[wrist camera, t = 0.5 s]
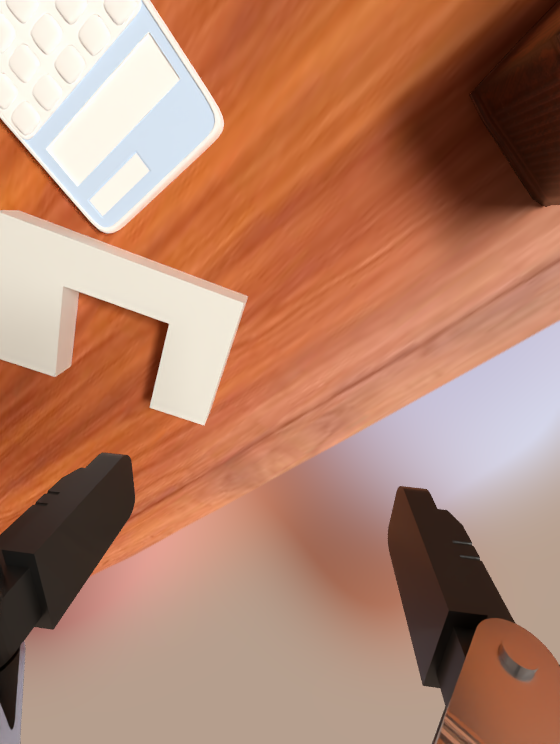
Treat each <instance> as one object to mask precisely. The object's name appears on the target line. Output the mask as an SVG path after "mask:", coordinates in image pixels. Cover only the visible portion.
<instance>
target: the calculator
mask: <svg viewBox="0 0 560 744" xmlns="http://www.w3.org/2000/svg"><path fill="white" fill-rule="evenodd" d="M61 15H62V16H61ZM64 19H65V20H66V21H65V20H64ZM18 20H19V21H20V22H19V21H18ZM42 51H43V52H44V53H43V52H42ZM3 73H4V74H3ZM48 74H49V75H48ZM26 101H27V102H26ZM0 118H1V119H2V121H3V122H4V123H5V124H6V125H7V126H8V127H9V129H10V130H11V131H12V132H13V133H14V134H15V136H16V137H17V138H18V139H19V140H20V141H21V142H22V144H23V145H24V146H25V147H26V148H27V149H28V151H29V152H30V153H31V154H32V155H33V156H34V158H35V159H36V160H37V161H38V162H39V163H40V164H41V166H42V167H43V168H44V169H45V170H46V171H47V173H48V174H49V175H50V176H51V177H52V178H53V179H54V181H55V182H56V183H57V184H58V185H59V186H60V188H61V189H62V190H63V191H64V192H65V193H66V195H67V196H68V197H69V198H70V199H71V200H72V201H73V203H74V204H75V205H76V206H77V207H78V208H79V210H80V211H81V212H82V213H83V214H84V215H85V216H86V217H87V219H88V220H89V221H90V222H91V223H92V224H93V225H94V226H95V227H96V228H98V229H99V230H100V231H102V232H104V233H114V232H116V231H118V230H120V229H121V228H123V227H124V226H125V225H126V224H127V223H128V222H130V221H131V220H132V219H133V218H134V217H135V216H136V215H137V214H138V213H139V212H140V211H141V210H142V209H143V208H145V207H146V206H147V205H148V204H149V203H150V202H151V201H152V200H153V199H154V198H155V197H156V196H157V195H158V194H160V193H161V192H162V191H163V190H164V189H165V188H166V187H167V186H168V185H169V184H170V183H171V182H172V181H173V180H174V179H176V178H177V177H178V176H179V175H180V174H181V173H182V172H183V171H184V170H185V169H186V168H187V167H188V166H189V165H191V164H192V163H193V162H194V161H195V160H196V159H197V158H198V157H199V156H200V155H201V154H202V153H203V152H204V151H205V150H207V149H208V148H209V147H210V146H211V145H212V144H213V143H214V142H215V141H216V139H217V138H218V137H219V136H220V134H221V133H222V131H223V127H224V121H223V116H222V114H221V112H220V109H219V107H218V106H217V104H216V102H215V101H214V99H213V97H212V96H211V94H210V92H209V91H208V89H207V88H206V86H205V85H204V83H203V82H202V80H201V78H200V77H199V75H198V74H197V72H196V71H195V69H194V68H193V66H192V65H191V63H190V61H189V60H188V58H187V57H186V55H185V54H184V52H183V51H182V49H181V48H180V46H179V44H178V43H177V41H176V40H175V38H174V37H173V35H172V34H171V32H170V31H169V29H168V27H167V26H166V24H165V23H164V21H163V20H162V18H161V17H160V15H159V13H158V12H157V10H156V9H155V7H154V6H153V4H152V3H151V1H150V0H0Z"/></svg>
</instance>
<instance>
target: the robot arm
mask: <svg viewBox="0 0 560 744" xmlns="http://www.w3.org/2000/svg"><path fill="white" fill-rule="evenodd" d="M134 503H135V491H134V482H133V472H132V463H131V458H130V457H129V456H128V455H121V454H112V453H101V454H99V455H98V456H97V457H96V458H95V459H94V460H93V461H92V462H91V463H90V464H89V465H88V466H87V467H86V468H79V469H77V470H76V471H74V472H72V473H70V474H68V475H67V476H65V477H63V478H61V479H60V480H59V481H58V482H57V483H56V484H55V485H54V486H53V487H52V488H51V489H50V490H48V493H47V494H44V495H43V496H42V497H41V498H40V499H39V500H38V501H37V502H36V504H35V505H32V506H31V507H30V508H29V509H28V510H27V511H26V512H25V513H23V514H22V515H21V516H20V517H19V518H18V519H17V520H16V521H15V522H14V523H13V524H12V525H10V526H9V527H8V528H7V529H6V530H5V531H4V532H3V533H2V534H1V535H0V744H21V742H20V735H21V716H22V698H23V682H24V664H25V643H24V640H25V639H26V637H27V636H28V634H29V633H30V632H31V630H32V629H33V628H34V627H39V628H46V629H54V628H55V626H56V625H57V624H58V622H59V621H60V619H61V618H62V616H63V614H64V613H65V612H66V610H67V609H68V607H69V606H70V604H71V603H72V601H73V600H74V598H75V597H76V595H77V594H78V593H79V591H80V589H81V588H82V586H83V585H84V584H85V582H86V581H87V579H88V578H89V576H90V575H91V573H92V572H93V570H94V569H95V568H96V566H97V565H98V563H99V562H100V560H101V559H102V557H103V556H104V554H105V553H106V551H107V550H108V548H109V547H110V545H111V544H112V542H113V541H114V540H115V538H116V537H117V535H118V534H119V532H120V531H121V529H122V528H123V526H124V525H125V523H126V522H127V520H128V519H129V517H130V515H131V513H132V510H133V507H134ZM388 546H389V552H390V556H391V560H392V564H393V568H394V572H395V576H396V580H397V584H398V588H399V592H400V596H401V600H402V604H403V608H404V612H405V616H406V620H407V624H408V627H409V632H410V636H411V640H412V644H413V648H414V652H415V656H416V660H417V664H418V668H419V672H420V676H421V680H422V684H423V686H429V687H436V688H441V692H442V695H443V698H444V702H445V705H446V706H445V709H444V711H443V714H442V717H441V720H440V722H439V725H438V728H437V731H436V733H435V736H434V739H433V741H432V744H560V665H559V664H558V662H557V661H556V659H555V658H554V657H553V655H552V653H551V652H550V651H549V650H548V649H547V648H546V646H545V645H544V644H543V643H542V642H541V641H540V640H539V639H537V638H536V637H535V636H534V635H533V634H531V633H530V632H529V631H527V630H526V629H524V628H522V627H521V626H519V625H517V624H516V623H515V622H514V620H513V618H512V617H511V615H510V613H509V611H508V609H507V607H506V605H505V603H504V602H503V600H502V598H501V596H500V594H499V592H498V590H497V589H496V587H495V585H494V583H493V581H492V579H491V577H490V575H489V574H488V572H487V570H486V568H485V566H484V564H483V562H482V561H480V557H479V555H478V553H477V552H476V550H475V548H474V546H472V542H471V540H470V538H469V536H468V535H467V533H466V531H465V529H464V527H463V525H462V524H461V523H459V521H458V520H456V518H455V517H453V515H451V514H450V513H449V512H448V511H447V510H440V509H437V507H436V505H435V503H434V501H433V498H432V496H431V494H430V493H429V491H428V490H427V489H421V488H412V487H403V486H400V487H399V488H398V490H397V492H396V497H395V501H394V506H393V510H392V514H391V519H390V523H389V529H388Z"/></svg>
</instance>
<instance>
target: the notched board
mask: <svg viewBox="0 0 560 744" xmlns="http://www.w3.org/2000/svg"><path fill="white" fill-rule="evenodd" d="M79 292H81V293H84V294H87V295H90V296H92V297H95V298H98V299H101V300H104V301H106V302H109V303H112V304H115V305H118V306H120V307H123V308H126V309H129V310H132V311H135V312H137V313H140V314H143V315H146V316H149V317H151V318H154V319H157V320H160V321H163V322H165V323H168V324H169V326H168V331H167V335H166V339H165V344H164V348H163V352H162V356H161V361H160V365H159V369H158V373H157V378H156V382H155V386H154V391H153V395H152V399H151V403H150V408H152V409H155V410H158V411H161V412H164V413H168V414H171V415H174V416H177V417H180V418H183V419H186V420H189V421H192V422H195V423H198V424H201V425H205V423H206V420H207V418H208V416H209V413H210V411H211V408H212V405H213V401H214V398H215V395H216V392H217V389H218V386H219V383H220V380H221V377H222V374H223V371H224V368H225V365H226V362H227V359H228V356H229V353H230V350H231V347H232V344H233V341H234V338H235V335H236V332H237V329H238V326H239V322H240V319H241V316H242V313H243V310H244V307H245V304H246V301H247V298H248V296H246V295H243V294H240V293H238V292H235V291H232V290H230V289H227V288H224V287H222V286H219V285H216V284H214V283H211V282H208V281H206V280H203V279H200V278H198V277H195V276H192V275H190V274H187V273H184V272H182V271H179V270H176V269H174V268H171V267H168V266H166V265H163V264H160V263H158V262H155V261H152V260H150V259H147V258H144V257H142V256H139V255H136V254H134V253H131V252H128V251H126V250H123V249H120V248H118V247H115V246H112V245H110V244H107V243H104V242H102V241H99V240H96V239H94V238H91V237H88V236H86V235H83V234H80V233H78V232H75V231H72V230H70V229H67V228H64V227H62V226H59V225H56V224H54V223H51V222H48V221H46V220H43V219H40V218H38V217H35V216H32V215H30V214H27V213H24V212H22V211H19V210H0V359H1V360H4V361H7V362H11V363H14V364H17V365H20V366H23V367H26V368H29V369H32V370H35V371H38V372H41V373H44V374H47V375H51V376H54V377H56V376H57V375H59V374H60V373H62V372H63V371H65V370H66V369H68V368H69V367H71V363H72V354H73V345H74V335H75V326H76V317H77V307H78V298H79Z"/></svg>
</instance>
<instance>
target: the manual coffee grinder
mask: <svg viewBox="0 0 560 744" xmlns="http://www.w3.org/2000/svg"><path fill="white" fill-rule="evenodd" d="M470 97H471V99H472V101H473V103H474V105H475V107H476V109H477V111H478V113H479V115H480V117H481V119H482V121H483V123H484V124H485V126H486V127H487V129H488V130H489V132H490V133H491V135H492V137H493V138H494V140H495V141H496V143H497V144H498V146H499V148H500V149H501V151H502V152H503V154H504V155H505V157H506V159H507V160H508V162H509V163H510V165H511V166H512V168H513V169H514V171H515V173H516V174H517V176H518V177H519V179H520V180H521V182H522V183H523V185H524V186H525V188H526V189H527V191H528V192H529V194H530V195H531V197H532V198H533V200H535V201H537V202H538V203H540V204H541V205H543V206H545V207H547V206H550V205H560V0H558V1H557V2H556V3H555V5H554V6H553V7H552V8H551V9H550V10H549V11H548V12H547V13H546V14H545V15H544V16H543V17H542V18H541V19H540V20H539V21H538V22H537V23H536V24H535V25H534V26H533V27H532V28H531V29H530V30H529V31H528V32H527V33H526V34H525V35H524V36H523V37H522V39H521V40H520V41H519V42H518V43H517V44H516V45H515V46H514V47H513V48H512V49H511V50H510V52H509V53H508V54H507V55H506V56H505V57H504V58H503V59H502V60H501V61H500V62H499V63H498V65H497V66H496V67H495V68H494V69H493V70H492V71H491V72H490V73H489V74H488V75H487V76H486V78H485V79H484V80H483V81H482V82H481V83H480V84H479V85H478V86H477V87H476V88H475V89H474V91H473V92H472V93H471V94H470Z"/></svg>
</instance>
